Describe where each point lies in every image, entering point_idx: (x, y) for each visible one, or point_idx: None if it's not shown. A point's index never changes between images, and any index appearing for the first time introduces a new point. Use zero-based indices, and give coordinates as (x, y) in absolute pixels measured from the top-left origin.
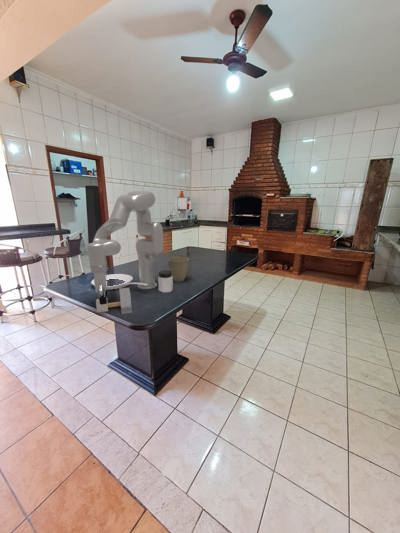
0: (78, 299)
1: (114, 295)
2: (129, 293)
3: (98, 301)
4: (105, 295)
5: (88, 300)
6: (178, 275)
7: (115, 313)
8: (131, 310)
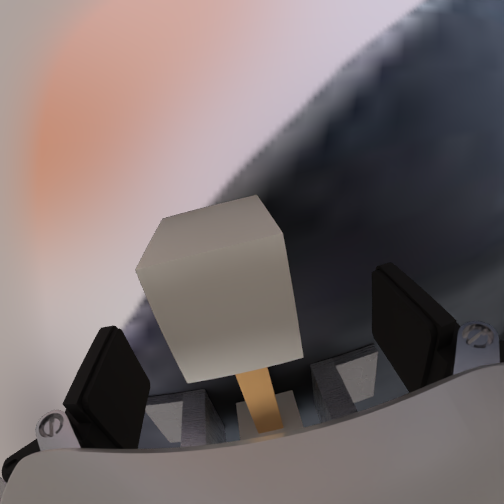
0: (465, 4)
1: (483, 265)
2: None
3: (177, 293)
4: (375, 323)
5: (454, 70)
6: None
7: (150, 365)
8: (177, 440)
